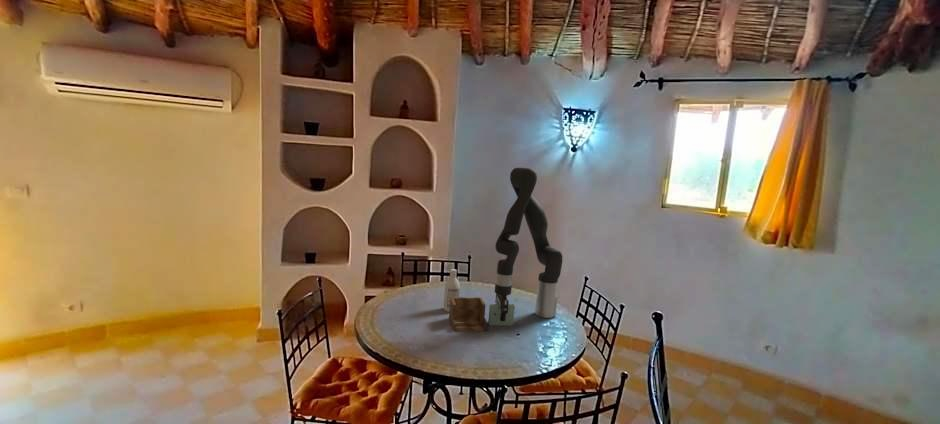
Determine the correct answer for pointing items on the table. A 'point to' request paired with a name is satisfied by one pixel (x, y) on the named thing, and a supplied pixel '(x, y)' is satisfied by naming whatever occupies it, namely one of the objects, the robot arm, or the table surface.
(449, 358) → the table surface
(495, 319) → the block
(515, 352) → the table surface
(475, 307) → the cabinet
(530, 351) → the table surface
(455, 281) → the bath foam
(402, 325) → the table surface
